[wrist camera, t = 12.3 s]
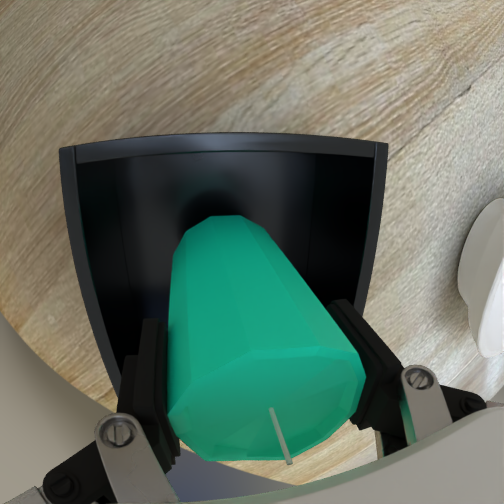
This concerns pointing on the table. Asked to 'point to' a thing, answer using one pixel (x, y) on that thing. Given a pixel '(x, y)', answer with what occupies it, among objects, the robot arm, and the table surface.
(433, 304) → the table surface
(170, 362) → the candle
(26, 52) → the table surface
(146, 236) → the black open box
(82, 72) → the table surface
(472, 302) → the bowl
